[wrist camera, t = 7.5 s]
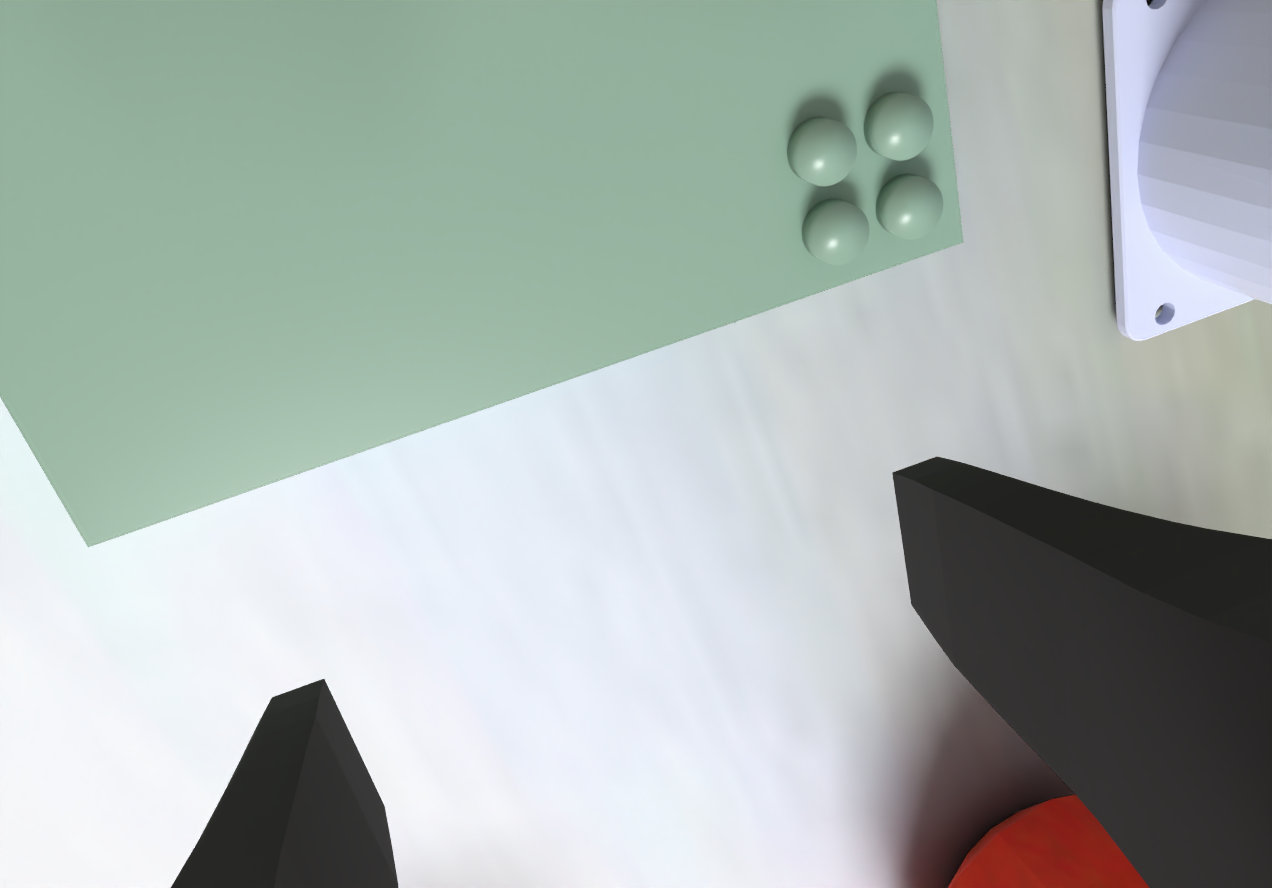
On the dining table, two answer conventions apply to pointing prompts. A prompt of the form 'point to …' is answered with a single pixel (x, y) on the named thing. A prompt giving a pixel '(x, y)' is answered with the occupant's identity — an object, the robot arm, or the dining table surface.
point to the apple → (1048, 852)
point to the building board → (419, 211)
